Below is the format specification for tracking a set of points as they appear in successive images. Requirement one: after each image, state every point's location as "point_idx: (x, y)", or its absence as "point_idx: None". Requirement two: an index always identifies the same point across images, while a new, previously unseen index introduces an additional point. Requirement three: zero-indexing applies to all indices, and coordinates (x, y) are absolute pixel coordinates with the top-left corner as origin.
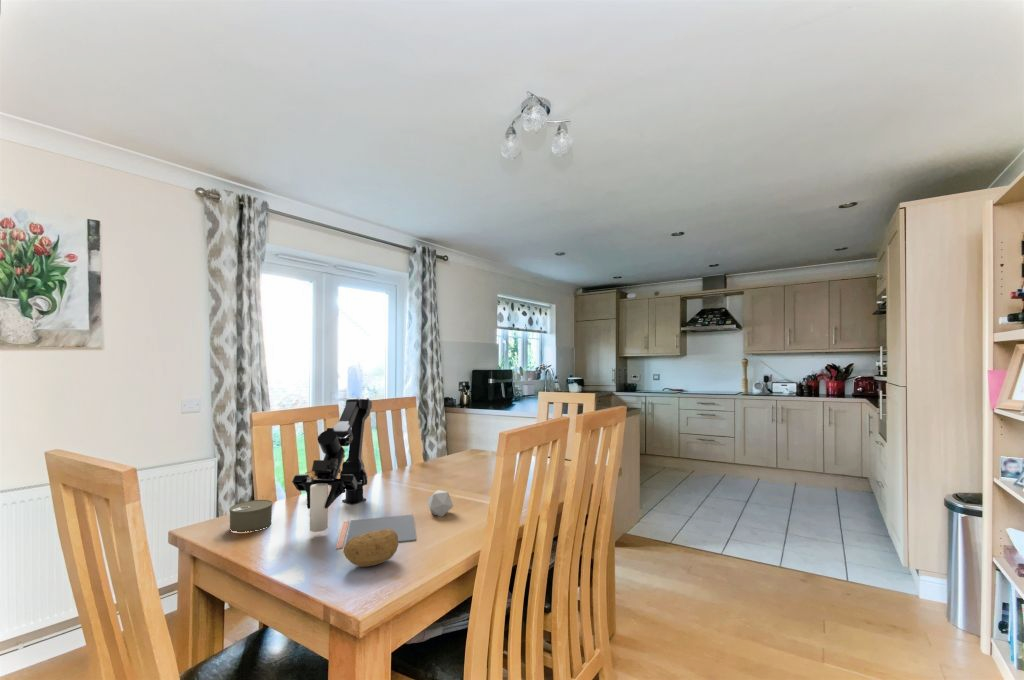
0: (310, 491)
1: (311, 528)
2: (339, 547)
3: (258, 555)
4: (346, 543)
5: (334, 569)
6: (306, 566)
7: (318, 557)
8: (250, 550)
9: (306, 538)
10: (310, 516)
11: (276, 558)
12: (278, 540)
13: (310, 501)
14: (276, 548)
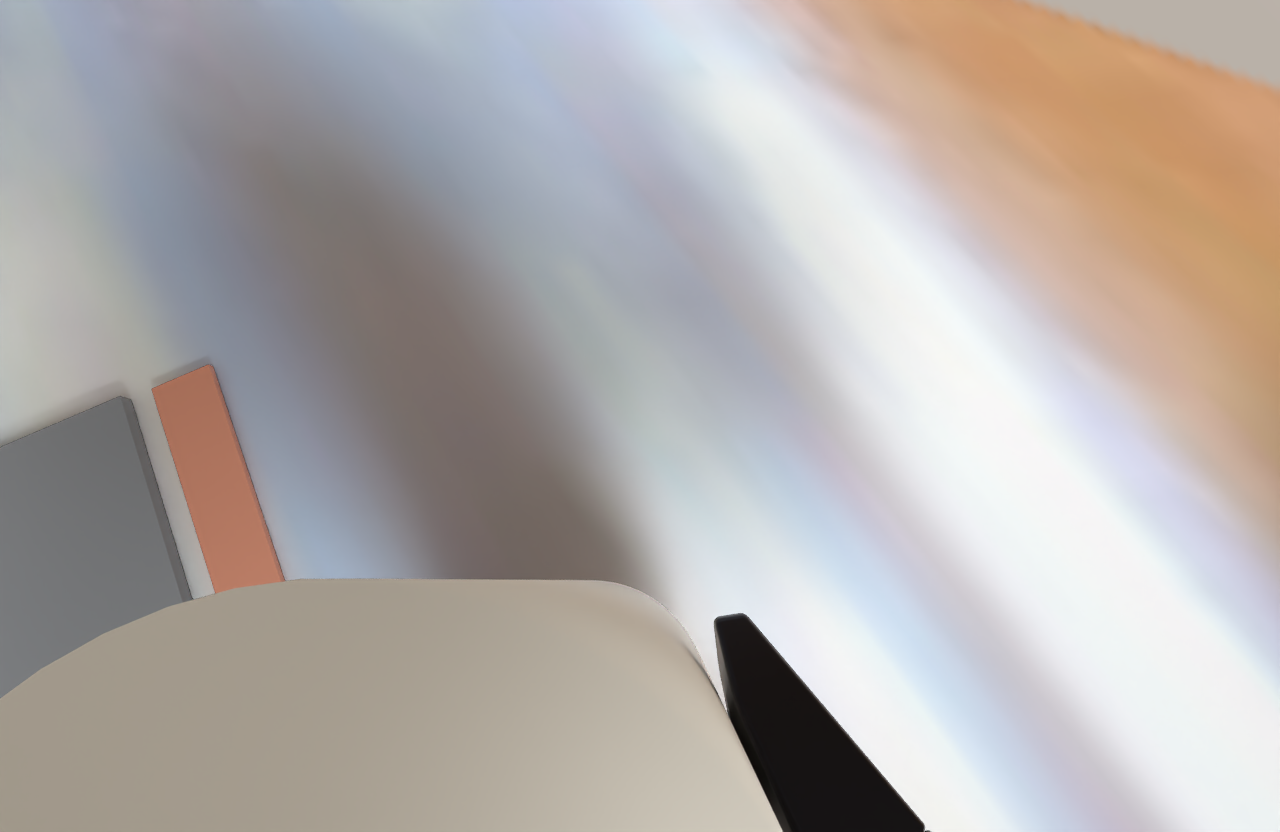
0: (694, 696)
1: (631, 588)
2: (182, 390)
3: (909, 127)
4: (135, 482)
5: (59, 9)
6: (322, 16)
7: (305, 179)
8: (1086, 209)
9: (704, 591)
10: (661, 614)
11: (689, 101)
12: (995, 486)
13: (673, 645)
14: (854, 292)
